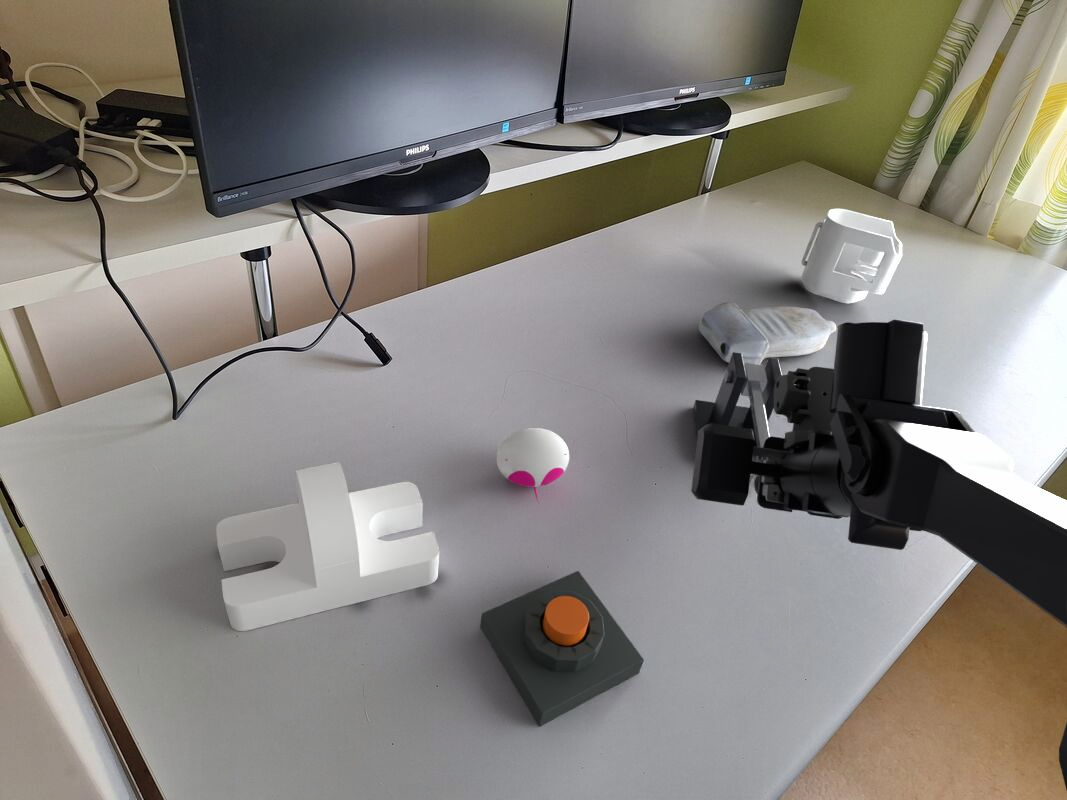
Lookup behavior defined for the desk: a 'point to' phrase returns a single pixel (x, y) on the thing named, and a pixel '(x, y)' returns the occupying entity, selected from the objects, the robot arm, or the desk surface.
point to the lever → (756, 403)
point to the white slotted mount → (324, 550)
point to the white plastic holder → (850, 256)
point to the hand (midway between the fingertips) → (776, 478)
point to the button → (565, 620)
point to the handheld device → (764, 331)
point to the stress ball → (533, 457)
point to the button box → (559, 650)
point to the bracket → (736, 398)
